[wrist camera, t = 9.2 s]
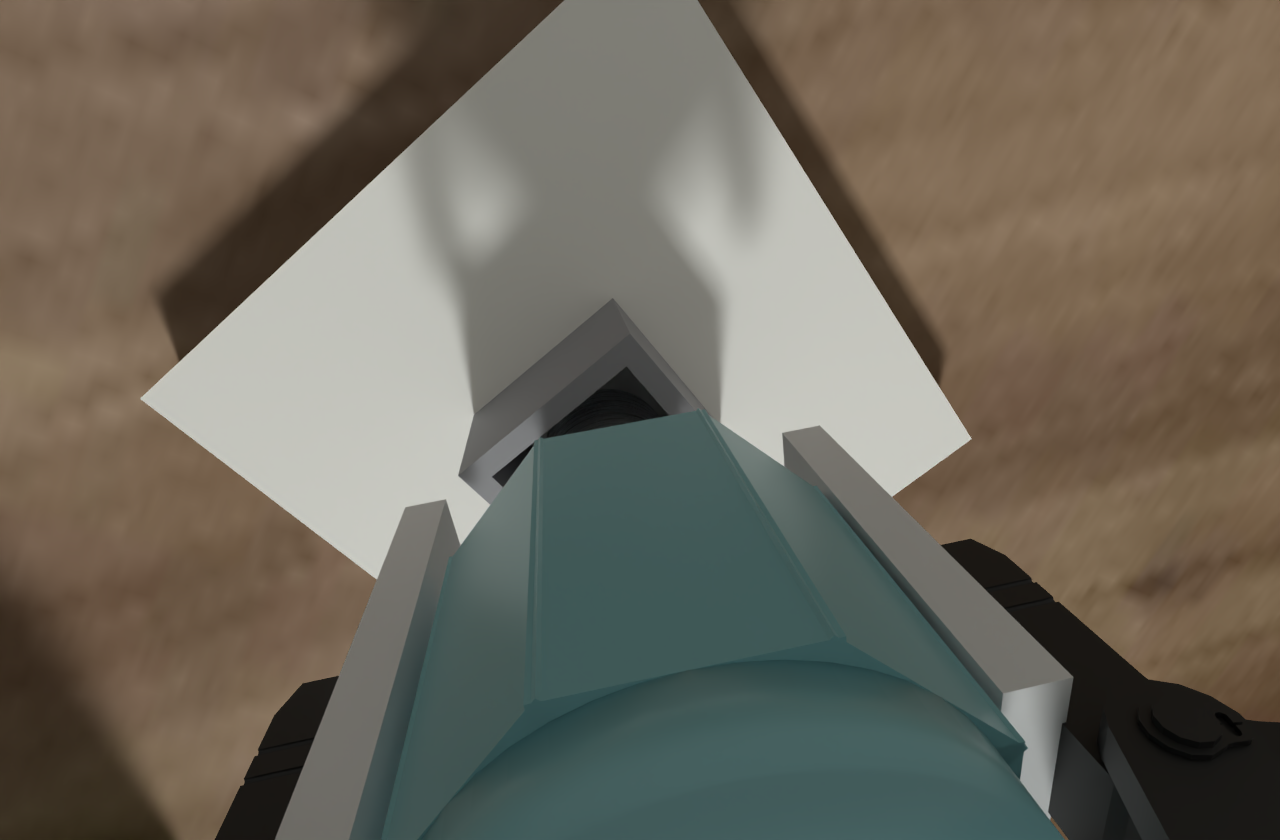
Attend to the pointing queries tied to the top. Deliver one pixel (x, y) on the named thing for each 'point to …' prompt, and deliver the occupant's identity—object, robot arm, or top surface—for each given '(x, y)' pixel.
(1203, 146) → the top surface
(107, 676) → the top surface
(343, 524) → the post base
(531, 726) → the cap
